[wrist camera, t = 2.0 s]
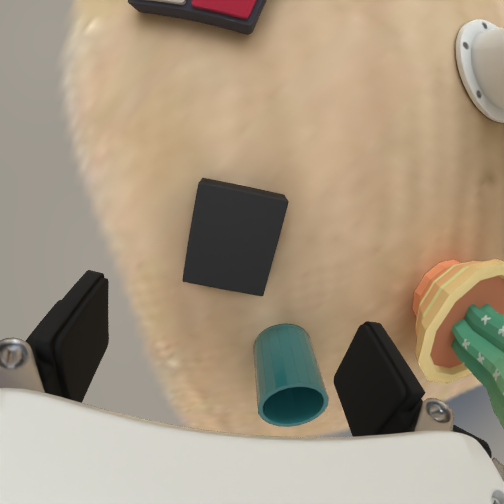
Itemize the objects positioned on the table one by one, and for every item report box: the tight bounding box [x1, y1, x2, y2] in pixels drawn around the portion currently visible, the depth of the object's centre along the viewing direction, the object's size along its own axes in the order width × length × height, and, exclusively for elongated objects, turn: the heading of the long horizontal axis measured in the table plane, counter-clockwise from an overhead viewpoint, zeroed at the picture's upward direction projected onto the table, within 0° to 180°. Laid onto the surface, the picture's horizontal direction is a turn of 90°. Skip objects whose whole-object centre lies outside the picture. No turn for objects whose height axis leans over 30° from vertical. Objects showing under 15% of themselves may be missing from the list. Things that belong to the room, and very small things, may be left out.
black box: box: [183, 178, 288, 296], centre depth 27 cm, size 7×9×3 cm
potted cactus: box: [412, 259, 504, 428], centre depth 21 cm, size 15×15×25 cm
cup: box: [254, 324, 328, 427], centre depth 30 cm, size 6×6×9 cm
